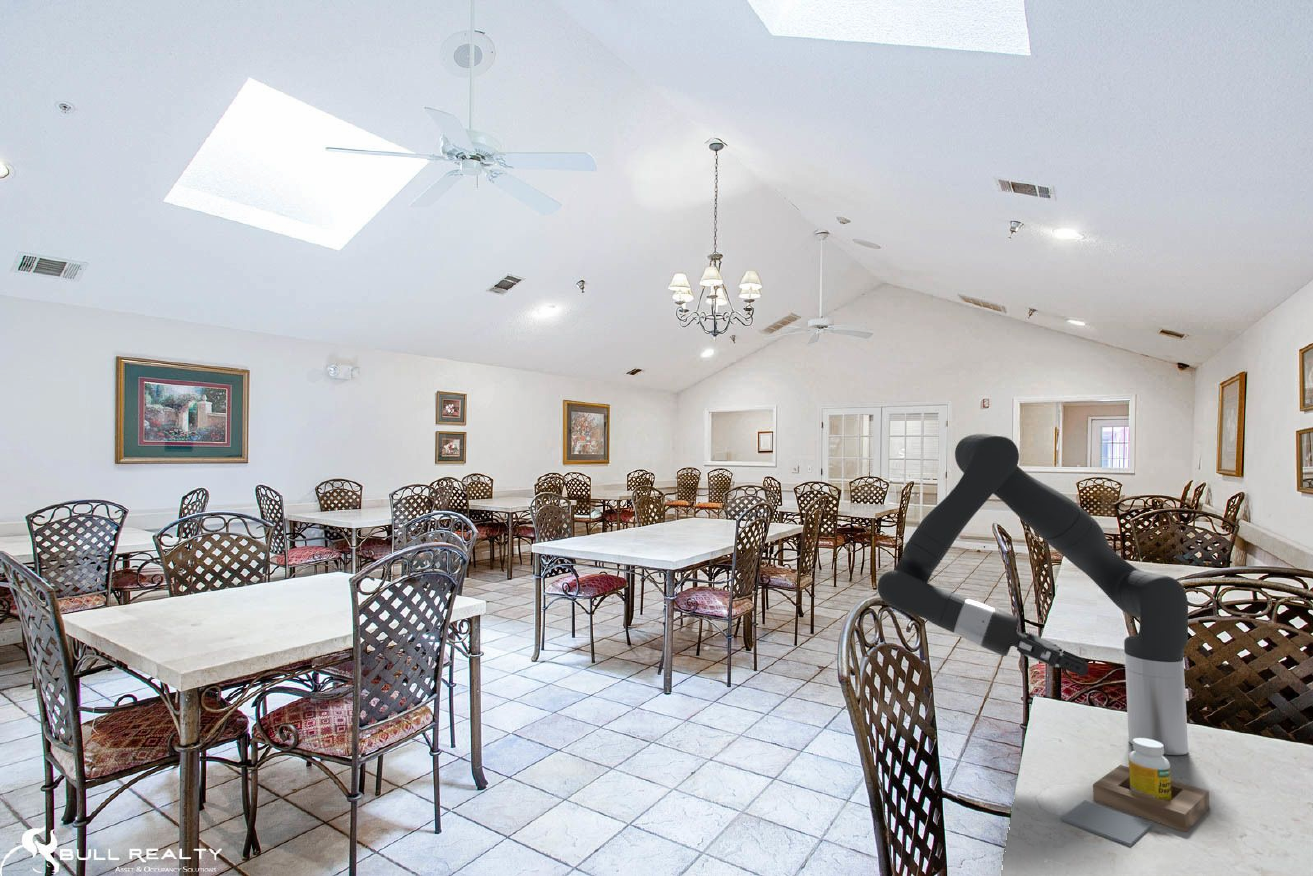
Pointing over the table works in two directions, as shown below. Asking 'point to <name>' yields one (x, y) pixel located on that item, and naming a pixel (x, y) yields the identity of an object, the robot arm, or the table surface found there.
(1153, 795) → the supplement bottle
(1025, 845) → the table surface
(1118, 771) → the socket block
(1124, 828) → the rubber mat
